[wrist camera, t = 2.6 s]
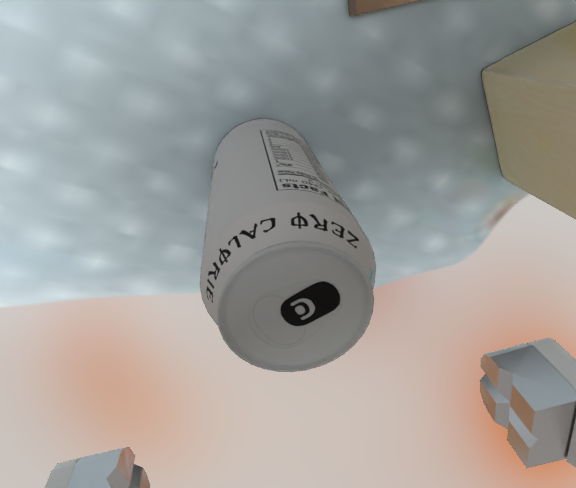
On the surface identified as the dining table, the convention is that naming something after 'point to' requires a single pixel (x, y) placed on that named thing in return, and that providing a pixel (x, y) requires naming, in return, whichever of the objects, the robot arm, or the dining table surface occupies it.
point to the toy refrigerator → (537, 117)
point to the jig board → (373, 5)
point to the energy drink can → (282, 253)
